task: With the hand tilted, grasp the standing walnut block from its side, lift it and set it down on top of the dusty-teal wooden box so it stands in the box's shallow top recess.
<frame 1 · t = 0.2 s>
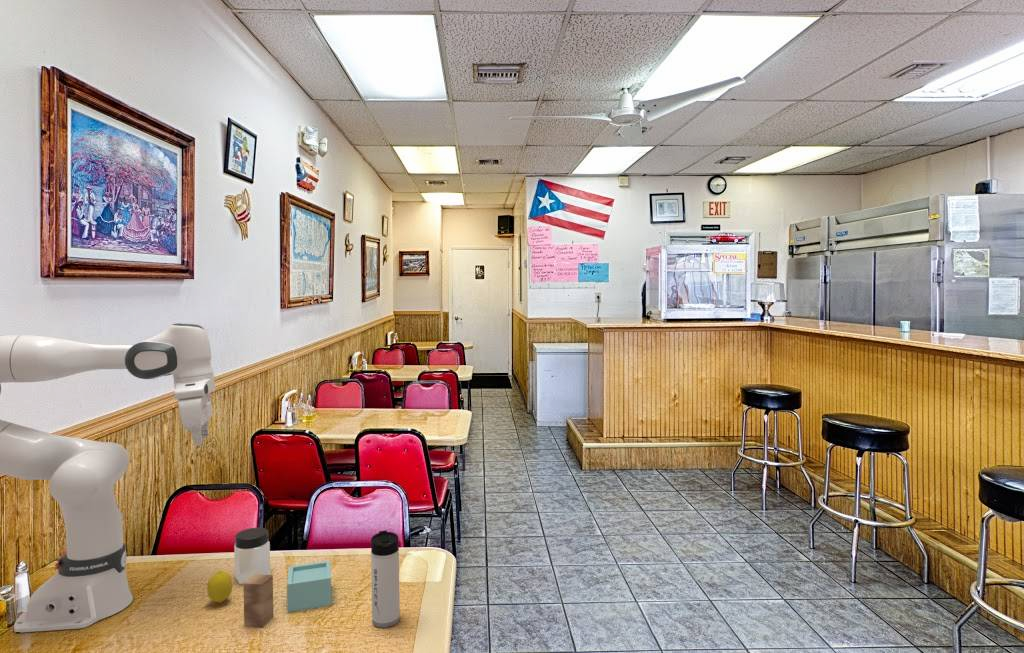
hand: (201, 441, 144), 39 cm above the table, tool pointing down, fingers open, 8 cm apart
lemon: (220, 603, 140), on the table
jar: (252, 577, 154), on the table
walnut block: (259, 621, 132), on the table
teal box: (310, 599, 142), on the table
travel mug: (385, 621, 132), on the table
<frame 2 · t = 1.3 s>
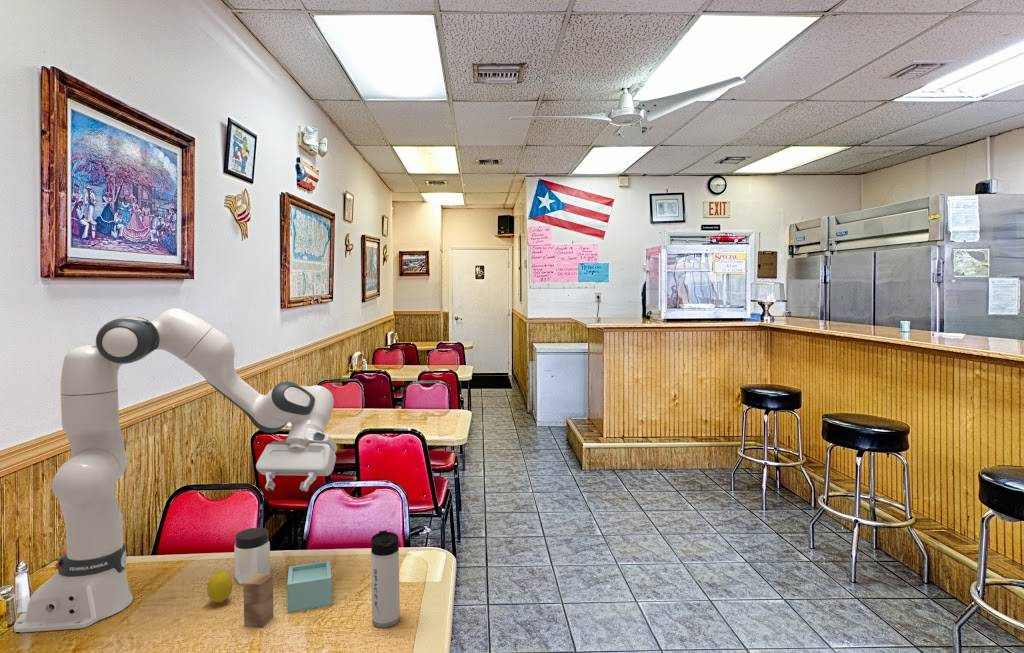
hand: (285, 489, 144), 27 cm above the table, tool tilted 45°, fingers open, 8 cm apart
nothing on the table moved.
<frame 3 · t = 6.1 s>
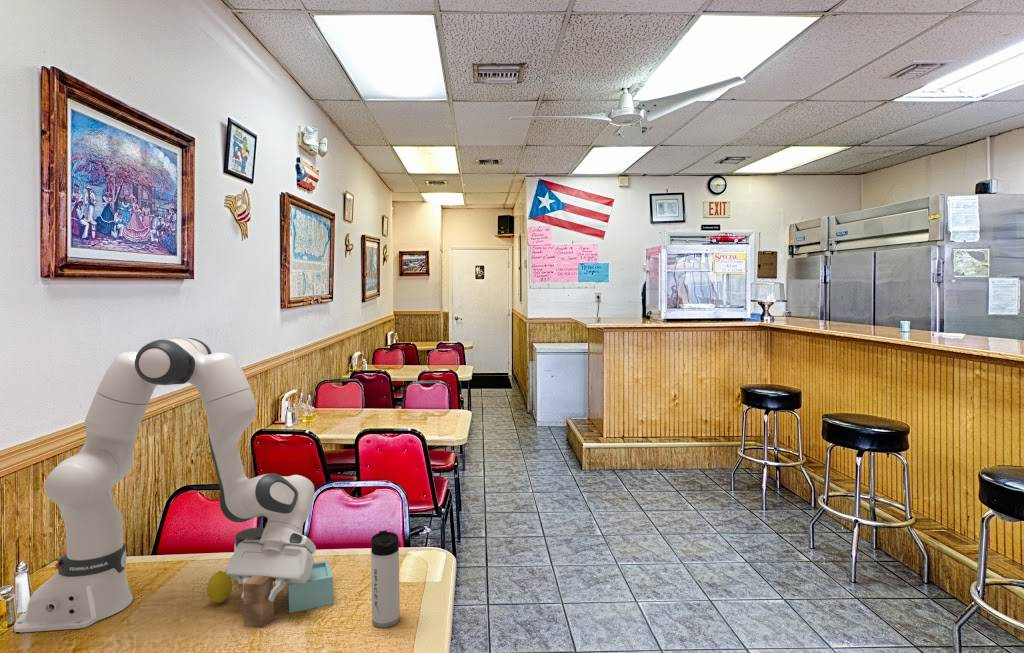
hand: (257, 599, 131), 5 cm above the table, tool tilted 45°, fingers closed on walnut block, 4 cm apart
walnut block: (259, 621, 132), on the table, touching gripper
everything else where it was.
when the fingers open (13 cm above the table, at t = 10.4 s): walnut block drops 1 cm, resting on teal box.
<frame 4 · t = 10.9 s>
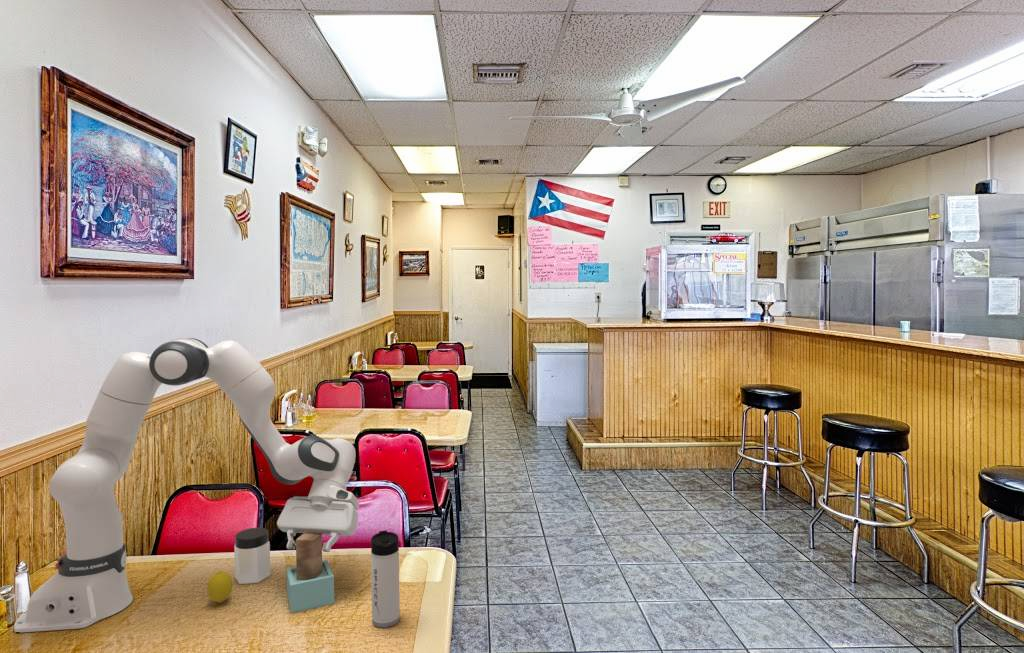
hand: (307, 549, 141), 13 cm above the table, tool tilted 45°, fingers open, 8 cm apart
walnut block: (309, 575, 142), point 6 cm above the table, touching teal box
teal box: (310, 599, 142), on the table, touching walnut block
everything else where it was.
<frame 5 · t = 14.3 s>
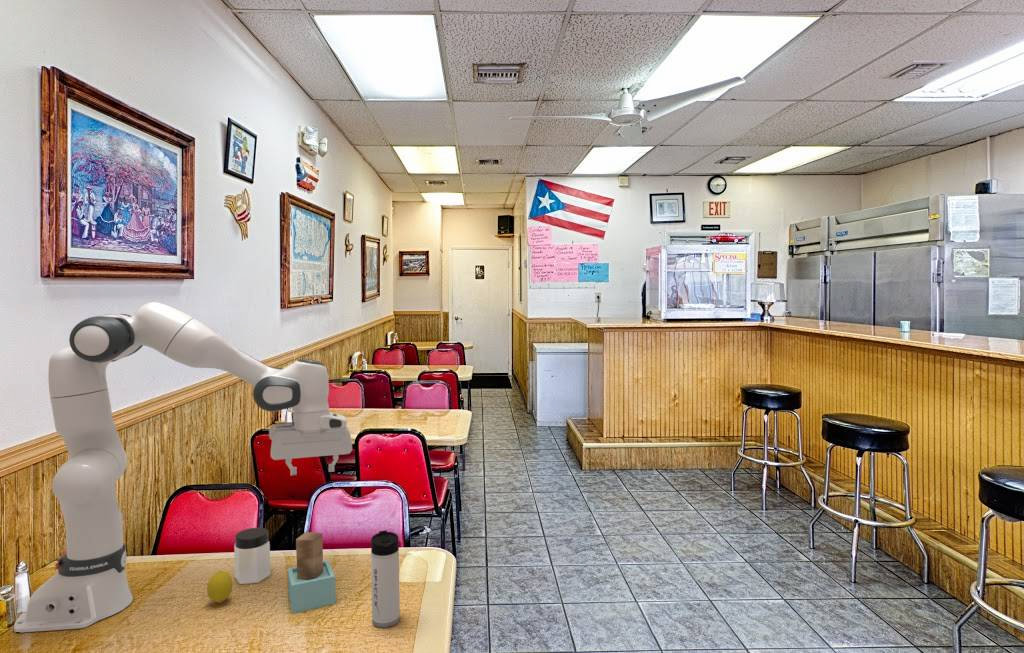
hand: (312, 473, 150), 29 cm above the table, tool pointing down, fingers open, 8 cm apart
nothing on the table moved.
at the end: walnut block inside the target area on the teal box (0.4 cm from its centre), point 6.0 cm above the teal box's base; walnut block tilted 0°; the gripper is holding nothing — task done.
